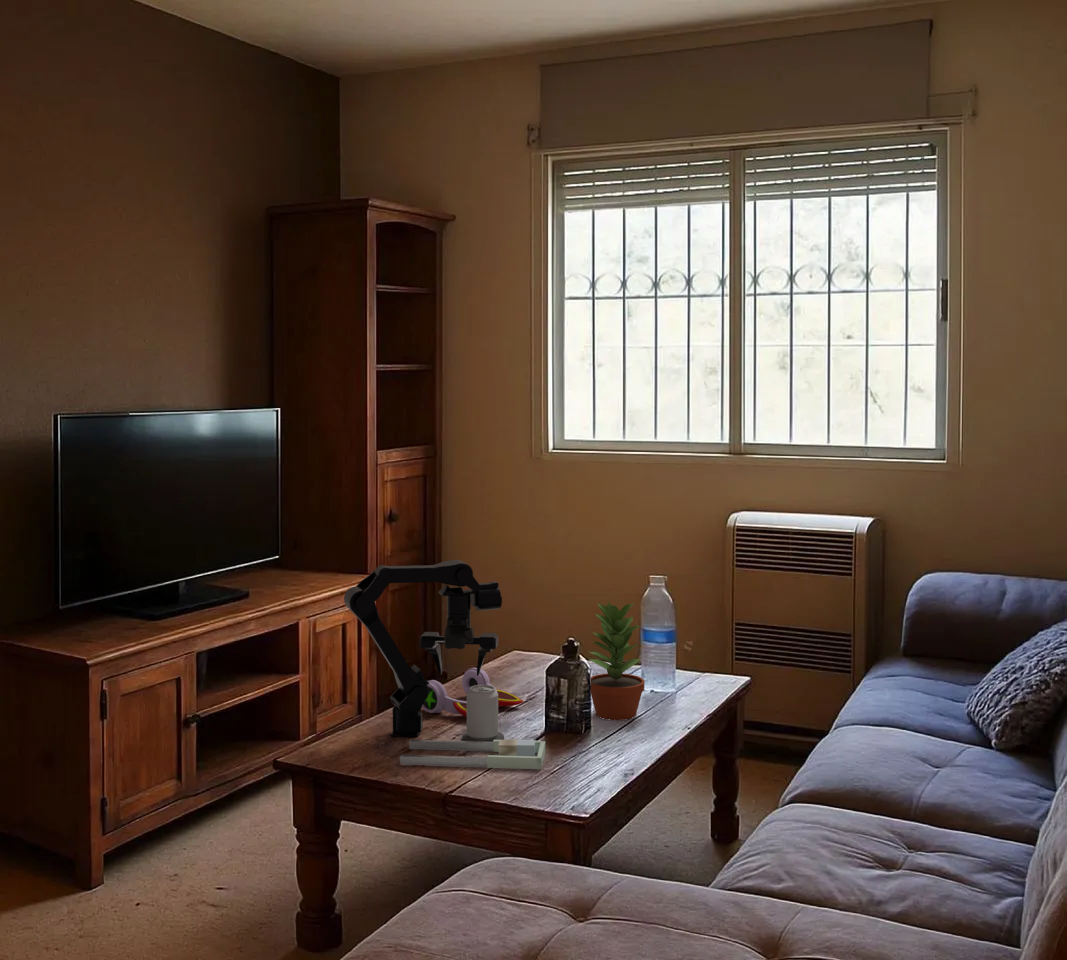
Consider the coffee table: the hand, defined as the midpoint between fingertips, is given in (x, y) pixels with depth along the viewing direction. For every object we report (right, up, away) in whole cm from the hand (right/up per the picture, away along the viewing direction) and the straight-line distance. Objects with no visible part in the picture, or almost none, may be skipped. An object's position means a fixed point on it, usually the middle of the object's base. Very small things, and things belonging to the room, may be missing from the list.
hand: (459, 675), depth 290 cm
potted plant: (+39, -12, +12) cm, 43 cm away
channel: (-1, -15, -22) cm, 26 cm away
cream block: (+12, -15, -23) cm, 30 cm away
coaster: (+6, -14, -8) cm, 17 cm away
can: (+6, -14, -8) cm, 17 cm away
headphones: (+2, -12, +17) cm, 20 cm away
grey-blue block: (+16, -15, -23) cm, 32 cm away
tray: (+14, -15, -23) cm, 31 cm away
